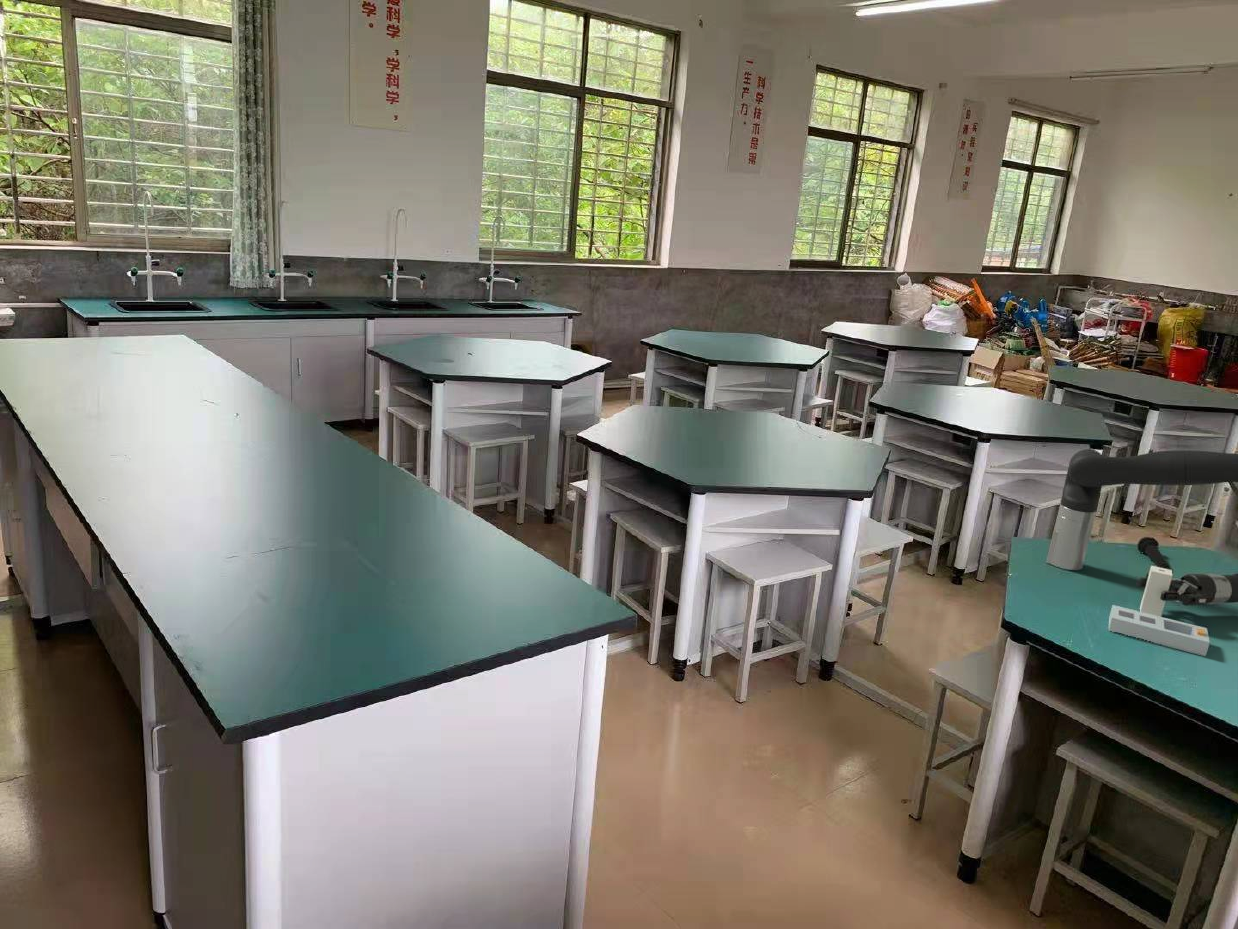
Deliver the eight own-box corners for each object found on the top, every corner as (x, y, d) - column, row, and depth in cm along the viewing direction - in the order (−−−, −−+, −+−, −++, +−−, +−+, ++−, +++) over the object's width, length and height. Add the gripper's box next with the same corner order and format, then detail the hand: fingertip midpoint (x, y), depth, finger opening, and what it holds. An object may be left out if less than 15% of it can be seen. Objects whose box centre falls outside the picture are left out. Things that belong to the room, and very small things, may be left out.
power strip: (1108, 631, 217) (1112, 615, 216) (1109, 617, 225) (1113, 602, 224) (1205, 656, 208) (1210, 640, 207) (1202, 641, 216) (1207, 626, 215)
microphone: (1172, 586, 259) (1147, 552, 277) (1185, 570, 256) (1158, 537, 275) (1154, 578, 259) (1130, 545, 277) (1167, 562, 256) (1142, 530, 275)
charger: (1139, 615, 228) (1151, 570, 225) (1139, 609, 232) (1151, 565, 228) (1159, 620, 226) (1172, 575, 223) (1159, 614, 230) (1171, 569, 226)
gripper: (1186, 563, 236) (1132, 563, 232) (1232, 587, 222) (1175, 587, 219) (1179, 590, 238) (1125, 590, 234) (1224, 615, 224) (1167, 615, 221)
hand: (1149, 589), depth 226 cm, fingers open, 7 cm apart
